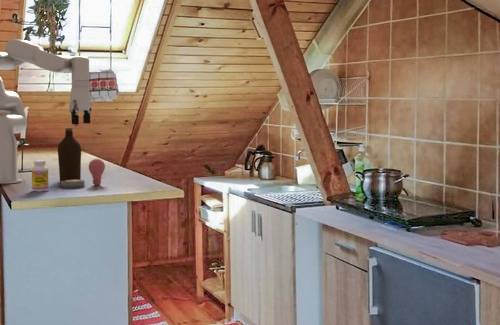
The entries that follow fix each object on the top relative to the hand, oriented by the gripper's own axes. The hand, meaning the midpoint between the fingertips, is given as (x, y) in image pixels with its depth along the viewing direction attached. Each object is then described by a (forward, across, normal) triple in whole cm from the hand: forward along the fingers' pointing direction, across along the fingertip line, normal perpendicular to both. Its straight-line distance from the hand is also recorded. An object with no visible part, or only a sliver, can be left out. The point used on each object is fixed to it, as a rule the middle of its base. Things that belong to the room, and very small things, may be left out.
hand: (81, 123), depth 285 cm
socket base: (+28, +3, -3) cm, 28 cm away
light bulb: (+28, -4, +5) cm, 29 cm away
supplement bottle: (+28, +17, -10) cm, 34 cm away
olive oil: (+28, -12, -13) cm, 33 cm away
